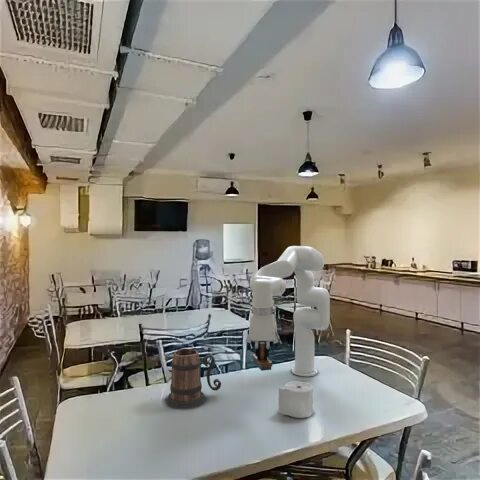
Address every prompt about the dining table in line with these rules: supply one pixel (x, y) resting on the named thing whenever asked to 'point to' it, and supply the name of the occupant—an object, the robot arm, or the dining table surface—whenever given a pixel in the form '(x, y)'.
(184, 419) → the dining table surface
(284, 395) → the toilet tissue
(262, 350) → the brush
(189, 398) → the tankard
